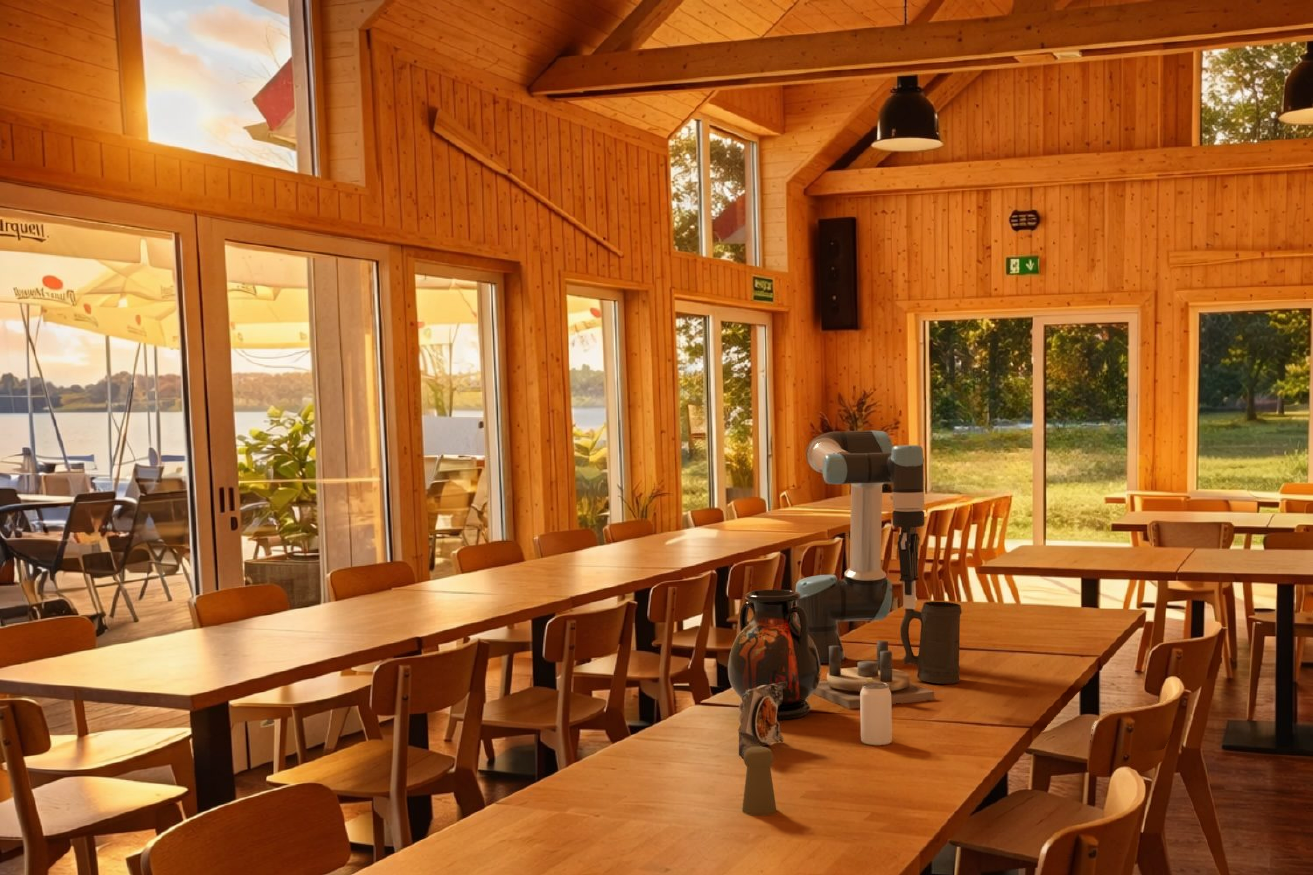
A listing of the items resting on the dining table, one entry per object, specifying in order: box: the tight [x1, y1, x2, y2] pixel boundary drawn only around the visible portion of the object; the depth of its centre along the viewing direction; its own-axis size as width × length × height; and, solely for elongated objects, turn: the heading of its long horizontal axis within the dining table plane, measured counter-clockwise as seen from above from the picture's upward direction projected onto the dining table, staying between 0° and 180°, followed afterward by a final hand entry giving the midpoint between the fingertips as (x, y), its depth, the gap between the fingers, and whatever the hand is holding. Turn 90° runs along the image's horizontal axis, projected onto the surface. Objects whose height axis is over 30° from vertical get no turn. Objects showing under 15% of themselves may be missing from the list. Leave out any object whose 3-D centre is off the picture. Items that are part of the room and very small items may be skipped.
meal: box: [738, 681, 788, 759], centre depth 268 cm, size 15×4×13 cm, turn 149°
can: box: [859, 683, 893, 747], centre depth 272 cm, size 6×6×12 cm
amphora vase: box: [727, 589, 822, 721], centre depth 301 cm, size 22×22×28 cm
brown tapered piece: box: [741, 746, 777, 817], centre depth 227 cm, size 6×6×11 cm
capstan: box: [826, 640, 911, 692], centre depth 318 cm, size 20×20×9 cm
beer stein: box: [900, 601, 963, 685], centre depth 333 cm, size 15×11×20 cm
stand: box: [812, 679, 935, 710], centre depth 318 cm, size 23×23×2 cm
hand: (909, 607), depth 310 cm, fingers closed
